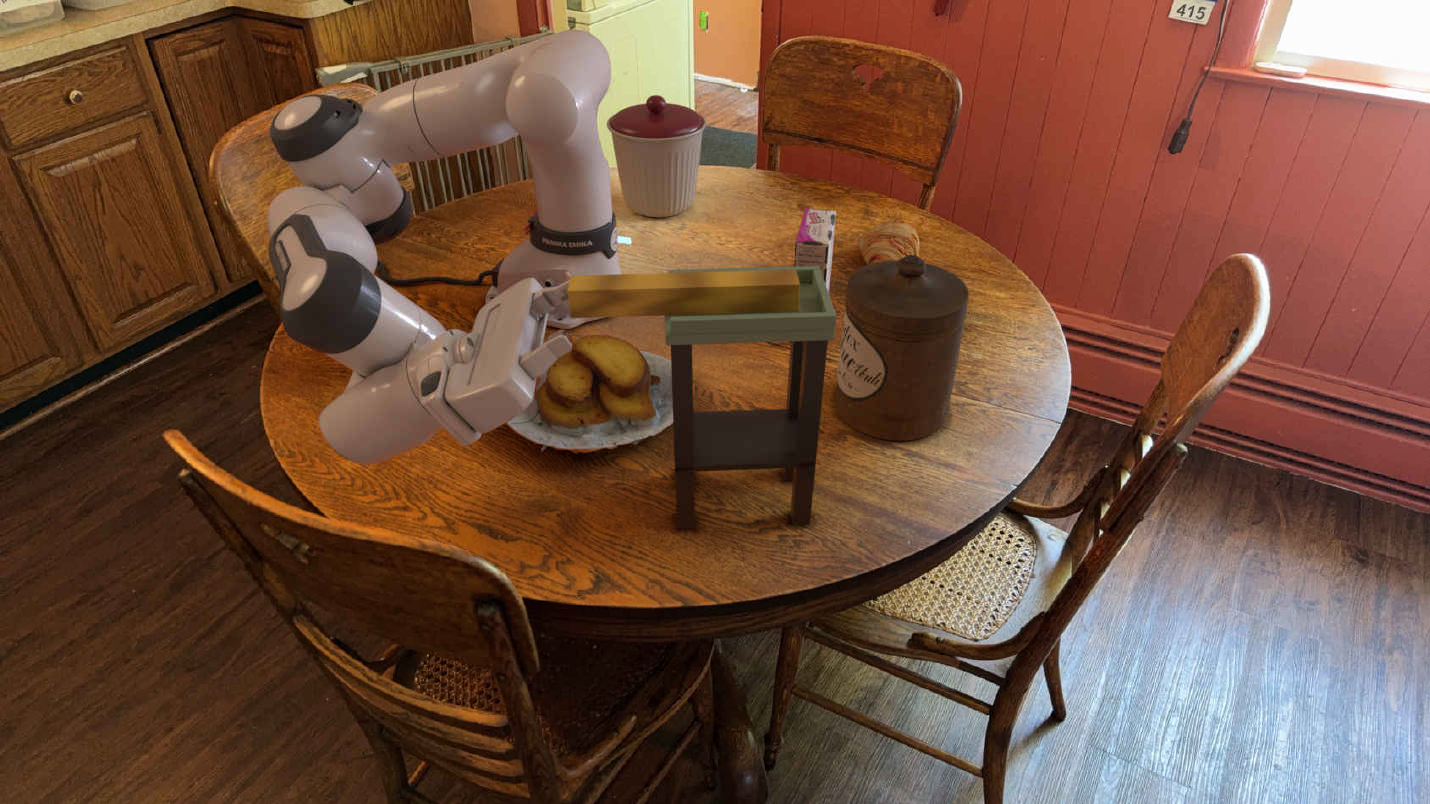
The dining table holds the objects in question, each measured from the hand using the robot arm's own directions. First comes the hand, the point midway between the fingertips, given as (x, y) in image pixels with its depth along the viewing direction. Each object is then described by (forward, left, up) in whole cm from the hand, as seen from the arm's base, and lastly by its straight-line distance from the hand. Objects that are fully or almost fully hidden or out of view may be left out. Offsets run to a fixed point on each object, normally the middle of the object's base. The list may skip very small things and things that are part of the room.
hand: (572, 312), depth 83 cm
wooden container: (+33, +26, -26) cm, 49 cm away
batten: (+11, +3, 0) cm, 11 cm away
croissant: (+31, +68, -26) cm, 79 cm away
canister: (-13, +82, -26) cm, 87 cm away
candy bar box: (+20, +45, -26) cm, 56 cm away
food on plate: (-5, +18, -26) cm, 32 cm away
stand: (+16, +4, -26) cm, 31 cm away
